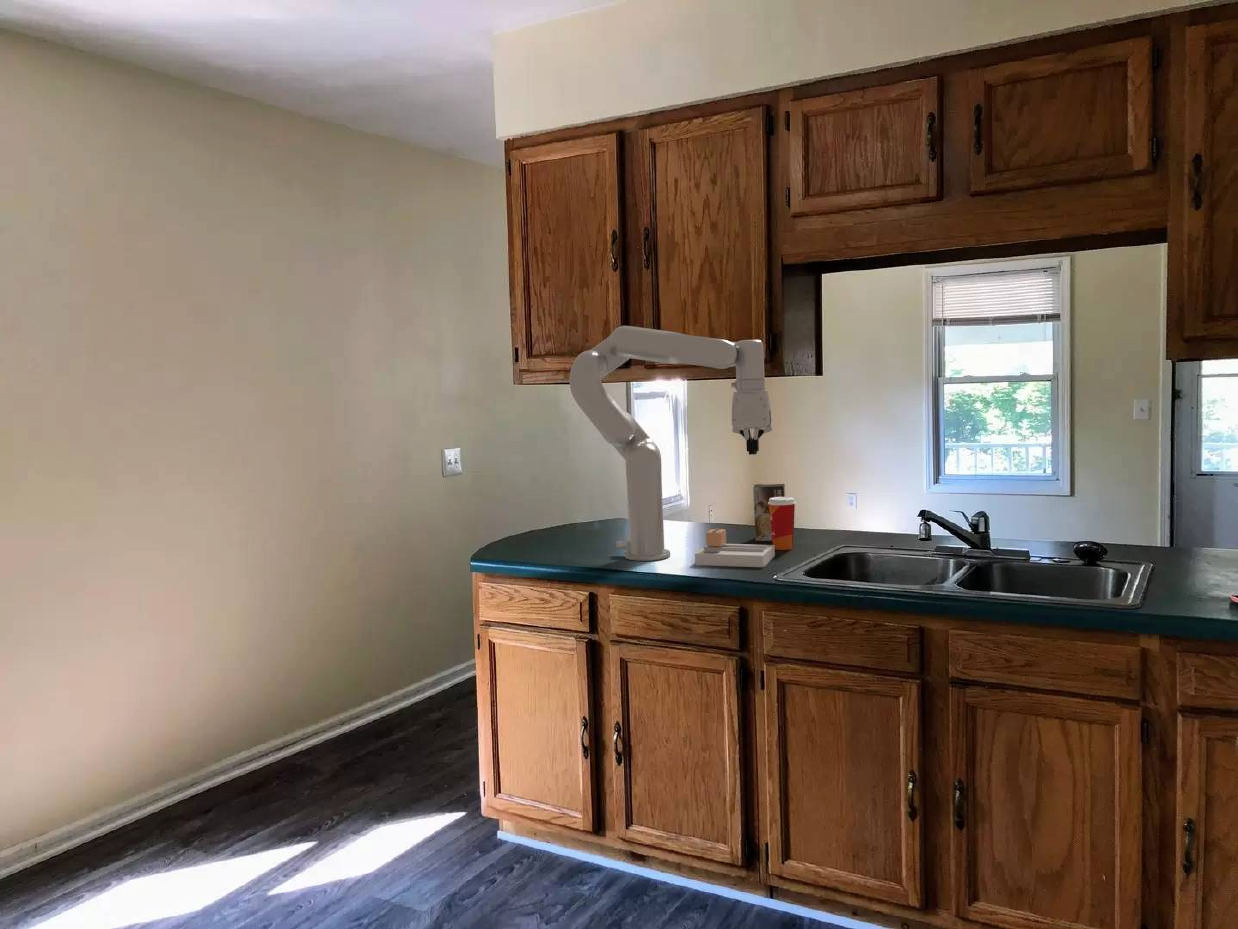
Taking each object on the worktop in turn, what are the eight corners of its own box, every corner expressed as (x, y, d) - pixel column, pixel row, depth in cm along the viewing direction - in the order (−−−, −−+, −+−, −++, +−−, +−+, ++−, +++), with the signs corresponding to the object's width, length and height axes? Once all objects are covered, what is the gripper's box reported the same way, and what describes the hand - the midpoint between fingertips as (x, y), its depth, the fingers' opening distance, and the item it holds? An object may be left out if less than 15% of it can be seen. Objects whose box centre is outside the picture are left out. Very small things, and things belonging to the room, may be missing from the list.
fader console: (695, 564, 241) (694, 550, 241) (709, 554, 254) (709, 540, 254) (763, 567, 235) (763, 552, 235) (774, 556, 248) (774, 542, 248)
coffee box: (787, 537, 274) (786, 483, 273) (786, 541, 268) (784, 486, 266) (756, 537, 277) (754, 483, 275) (754, 541, 270) (752, 486, 269)
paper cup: (777, 544, 264) (776, 495, 262) (802, 546, 259) (800, 497, 257) (763, 549, 258) (762, 499, 256) (788, 552, 253) (786, 501, 251)
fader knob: (706, 550, 245) (706, 531, 244) (711, 546, 249) (711, 528, 249) (721, 550, 243) (720, 531, 243) (726, 546, 248) (725, 528, 247)
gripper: (719, 387, 248) (722, 455, 250) (775, 385, 243) (777, 455, 245) (727, 386, 255) (729, 453, 257) (781, 384, 250) (783, 452, 251)
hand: (752, 454), depth 251 cm, fingers closed
